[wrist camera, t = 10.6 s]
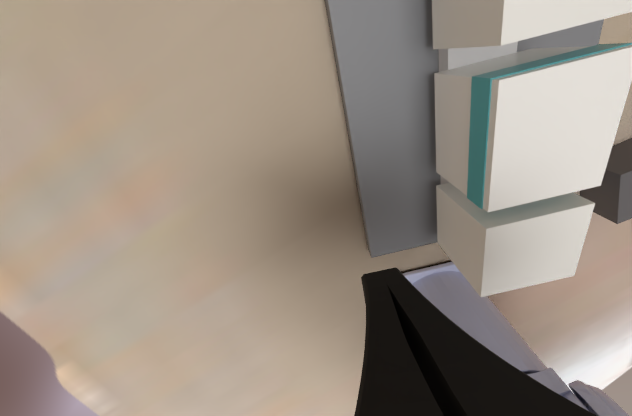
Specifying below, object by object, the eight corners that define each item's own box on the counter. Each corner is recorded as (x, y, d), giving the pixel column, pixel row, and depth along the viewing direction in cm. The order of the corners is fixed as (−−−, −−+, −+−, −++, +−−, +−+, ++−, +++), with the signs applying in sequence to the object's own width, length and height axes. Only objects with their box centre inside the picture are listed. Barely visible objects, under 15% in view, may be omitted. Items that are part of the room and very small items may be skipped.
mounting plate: (549, 206, 21) (655, 266, 15) (368, 249, 22) (399, 325, 16) (617, -134, 13) (924, -313, 7) (316, -51, 13) (340, -145, 7)
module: (519, 152, 17) (601, 186, 12) (435, 172, 17) (487, 213, 13) (533, 47, 14) (644, 42, 10) (433, 72, 14) (498, 79, 10)
